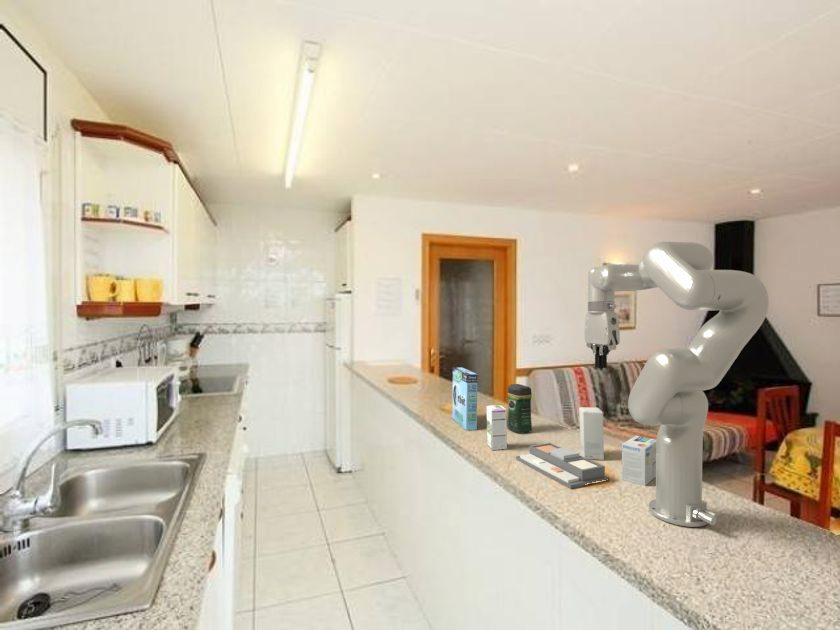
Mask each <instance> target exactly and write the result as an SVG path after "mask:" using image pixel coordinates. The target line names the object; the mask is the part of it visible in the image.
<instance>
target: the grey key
mask: <svg viewBox="0 0 840 630" xmlns="http://www.w3.org/2000/svg"><path fill="white" fill-rule="evenodd" d="M550 455H552V456H555V457H557V458H559V459H561V460H563V461H565V460H570V459H576V458H579V455H580V452H579V451H576V450H573V449H571V448H568V447H567V446H563V447H561V448H558V449H552V450H550Z"/></svg>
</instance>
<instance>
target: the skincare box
mask: <svg viewBox="0 0 840 630" xmlns="http://www.w3.org/2000/svg"><path fill="white" fill-rule="evenodd" d="M578 409H579V411H578V414H579V415H578V416H579V453H580V454H581V456H582V457H584V458H587V459H589V460H593V459H594V460H597V461H598V460H599V461H604V460H605V457H604V456H605V454H604V453H605V452H604V450H605V449H604V443H605V442H604V412H603V411H602V410H601V408H599V407H596V406H593V407H588V406H586V407H584V406H583V407H582V406H581V407H580V406H579V408H578ZM594 460H593V461H594Z"/></svg>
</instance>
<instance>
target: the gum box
mask: <svg viewBox="0 0 840 630" xmlns="http://www.w3.org/2000/svg"><path fill="white" fill-rule="evenodd" d="M478 375H479V374H477V373H476V372H473V371H471V370H469V369H466V368H464V367H462V366H461V367H452V392H451V394H452V398H451V399H452V410H451V411H452V412H451V414H452V415H451V418H453V419H452V420H453V421H455V422H456V424H458V425H459V426H460V425H461V426H460V427H462V428H463V429H464V430H465V431H466V430H473V431H477V430H478Z"/></svg>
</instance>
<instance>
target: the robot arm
mask: <svg viewBox="0 0 840 630" xmlns="http://www.w3.org/2000/svg"><path fill="white" fill-rule="evenodd" d="M713 263H714V255H713V253H712V251H711V249H710V248H709V247H707V246H706V245H704V244H702V243H698V242H689V241H660V242H656V243H654V244H653V245H651V246H650V247H648V249H647V250H646V251H645V253H644V254H643V257H642V258H641V259H640V261H639V264H629V263H628V264H626V263H624V264H622V263H621V264H617V263H615V264H612V263H611V264H610V263H609V264H604V265H602V266H596V267H595V266H594V267H591V268H590V269H588V273H587V281H588V282H587V312H586V318H585V323H584V341H585V343H586V347H587V348H589V349H591V350H592V354H593V355H594V368H596V369H606V368H607V367H608V366H607V365H608V355H609V354H610V352H611V351H615V350H617V346H618V345H619V344H620V342H621V338H620V335H621V333H620V332H621V331H620V323H619V317H618V313H617V312H615V311H616V310H615V309H616V308H617V304H616V303H615V302H616V301H615V298H616V297H615V296H616V295H615V292H616V291H630V292H631V291H643V290H649V289H650V290H651V289H655V288H659V289H660V290H661V292H663V293H664V294H665V295H666V297H668V298H669V299H670V300H671V301H672V302H673V303H674V304H676V305H677V306H678V307H680V308H682V309H684V310H688V311H693V312H694V311H695V312H699V311H719V312H718V313H717V314H715V315H714V316H713V317H711V318H710V319H709V320H707V321H706V322H705V323H704V324H703V325H702V326H701V328H700V329H699V330H698V332H697V333H696V335H695V337H694V338H693V340H692V342H691V343H690V344H689V345H688V346H685V347H681V348H667V349H665V348H664V349H661V350H659V351H656V352H655V353H653V354H652V355H651V356H649V358H648V359H647V361H646V362H645V364H644V365H643V368H642V369H641V371H640V373H639V375H638V377H637V379H636V381H635V383H634V384H633V386H632V388H631V390H630V393H629V396H628V400H627V401H628V402H627V407H628V408H627V409H628V411H629V414H630V416H631V418H632V419H633V420H634V421H635V422H637V423H638V424H641V425H644V426H660V427H659V428H658V431H657V435H656V477H655V498H654V499H652V500H651V501H649V503H648V511H649V512H650V513H651V514H652V515H653V516H655V517H656V518H658V519H659V520H661V521H664V522H665V523H666V522H667V523H669V524H673V525H676V526H681V527H686V528H687V527H690V528H699V527H704V526H706V525H711V526H715V525H716V523H717V520H718V516H719V515H718V513H716V512H714V511H712V510H709V509H708V507H707V506H708V505H707V501H705V500H703V443H704V441H703V439H704V430H705V424H706V421H707V418H708V412H709V400H708V397H707V396H706V393H705V391H708V390H711V389H714V388H715V387H717V386H718V385H719V384H720V382H721V381H722V379H723V378H724V377H725V376H726V374H727V372H728V371H729V370H730V369H731V366H732V365H733V363H734V362H735V360H736V359H737V358H738V356H739V355H740V353H741V351H743V349H744V347H745V346H746V345H747V344H748V343H749V341H750V340H751V339H752V337H753V336H754V335H755V334H756V333H757V331H758V330H759V329H760V327H761V326H762V325H763V323H764V321H765V319H766V317H767V314H768V310H769V305H770V304H769V300H770V299H769V294H768V291H767V290H768V289H767V287H766V285H765V283H763V282H764V281H762V280H761V279H760V278H759V277H757V276H756V275H754V274H752V273H750V272H746V271H742V270H737V269H736V270H734V269H712V266H713Z"/></svg>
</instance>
